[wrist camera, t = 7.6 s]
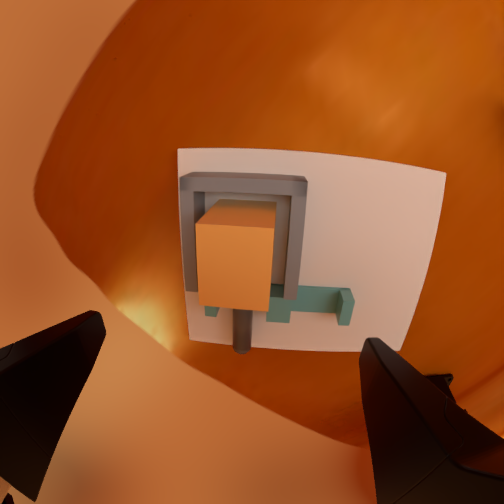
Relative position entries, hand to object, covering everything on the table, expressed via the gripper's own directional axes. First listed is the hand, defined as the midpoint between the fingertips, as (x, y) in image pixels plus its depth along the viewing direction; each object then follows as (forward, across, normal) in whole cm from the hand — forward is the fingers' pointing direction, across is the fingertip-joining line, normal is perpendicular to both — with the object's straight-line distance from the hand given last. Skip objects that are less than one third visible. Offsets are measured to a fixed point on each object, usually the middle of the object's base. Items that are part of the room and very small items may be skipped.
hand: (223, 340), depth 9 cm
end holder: (+11, +1, 0) cm, 11 cm away
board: (+12, -4, +2) cm, 13 cm away
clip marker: (+11, -4, +5) cm, 13 cm away
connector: (+11, +1, +4) cm, 12 cm away
